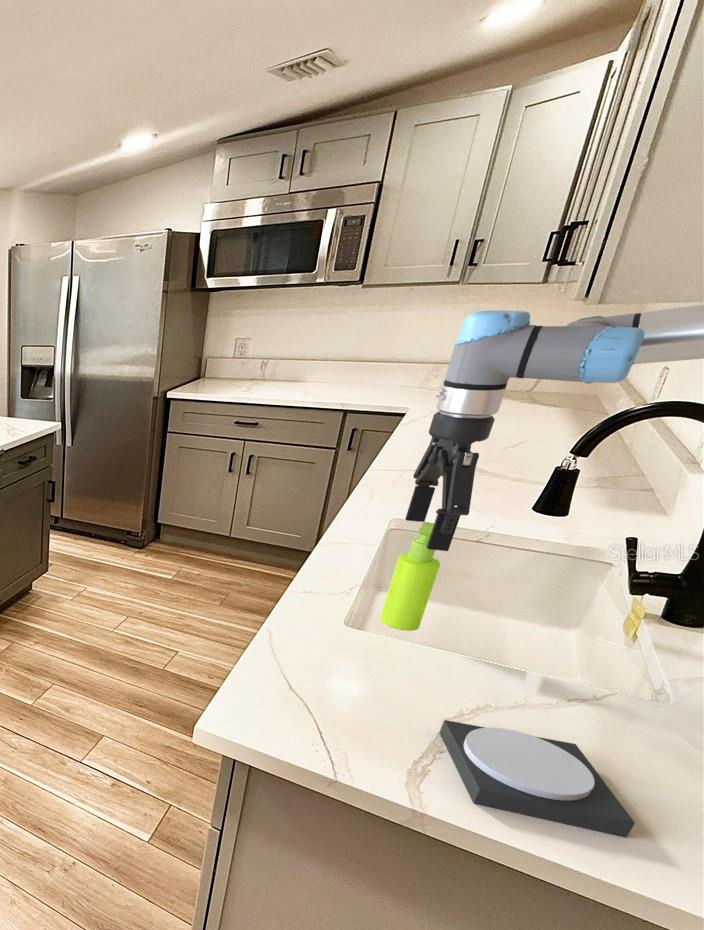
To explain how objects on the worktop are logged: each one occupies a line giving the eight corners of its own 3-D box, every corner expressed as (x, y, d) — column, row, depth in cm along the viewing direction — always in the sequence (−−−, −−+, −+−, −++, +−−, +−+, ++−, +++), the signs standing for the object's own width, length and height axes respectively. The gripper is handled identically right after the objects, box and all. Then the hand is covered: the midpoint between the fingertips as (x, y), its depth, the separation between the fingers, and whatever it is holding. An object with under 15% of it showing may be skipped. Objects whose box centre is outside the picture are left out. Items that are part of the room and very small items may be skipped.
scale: (568, 757, 83) (578, 737, 81) (626, 837, 71) (639, 816, 70) (439, 732, 88) (446, 714, 87) (473, 803, 77) (482, 783, 75)
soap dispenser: (374, 625, 115) (404, 526, 106) (384, 611, 119) (413, 515, 111) (413, 636, 111) (447, 535, 102) (422, 622, 115) (455, 523, 106)
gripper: (414, 398, 110) (382, 508, 119) (461, 430, 90) (418, 560, 99) (467, 399, 107) (431, 512, 116) (528, 432, 87) (478, 566, 96)
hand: (425, 534), depth 107 cm, fingers open, 13 cm apart
